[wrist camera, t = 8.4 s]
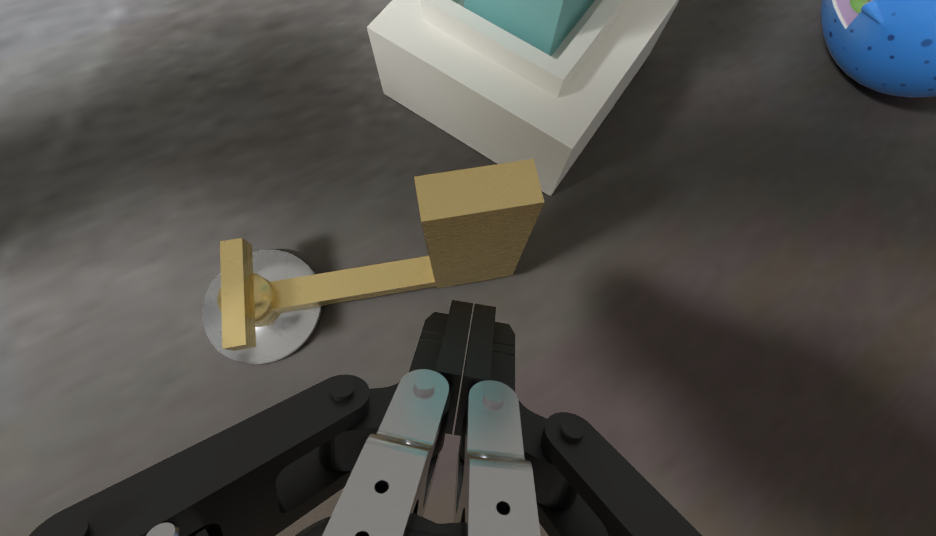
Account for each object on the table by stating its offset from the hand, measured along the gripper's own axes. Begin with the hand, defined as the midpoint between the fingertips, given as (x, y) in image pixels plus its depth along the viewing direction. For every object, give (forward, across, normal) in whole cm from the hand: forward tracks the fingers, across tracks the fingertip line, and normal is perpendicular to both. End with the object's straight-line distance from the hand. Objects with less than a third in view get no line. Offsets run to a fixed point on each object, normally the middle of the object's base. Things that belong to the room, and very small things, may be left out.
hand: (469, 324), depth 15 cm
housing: (+18, -1, -7) cm, 19 cm away
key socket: (+6, +11, +5) cm, 13 cm away
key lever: (+7, +5, +3) cm, 9 cm away
